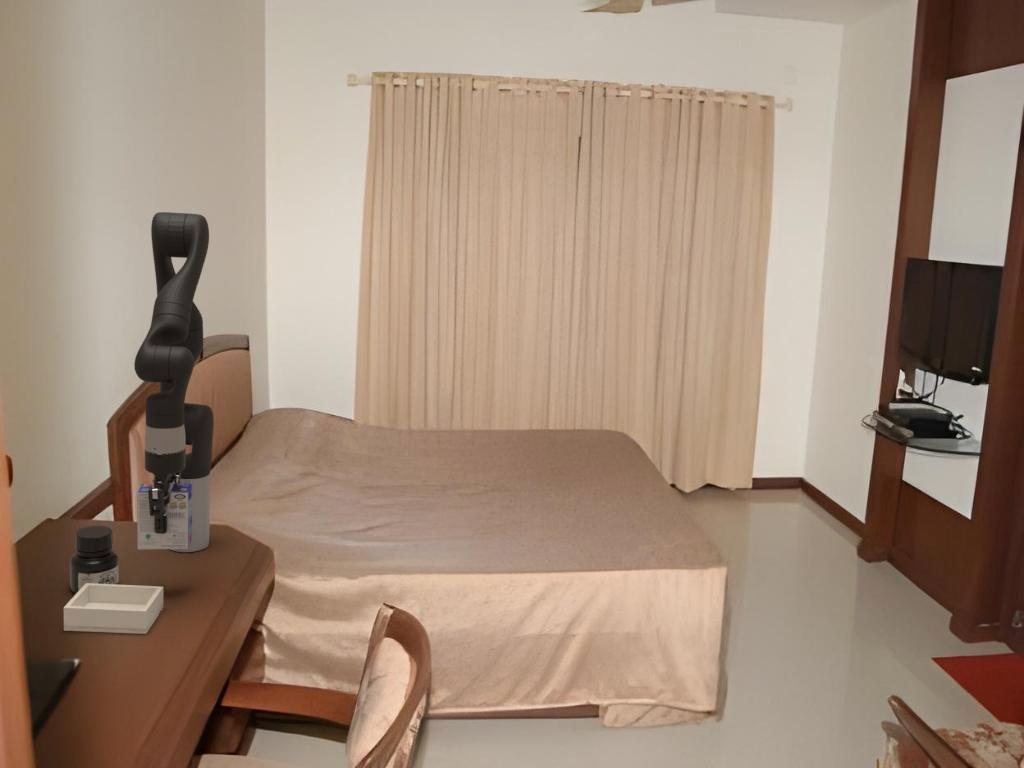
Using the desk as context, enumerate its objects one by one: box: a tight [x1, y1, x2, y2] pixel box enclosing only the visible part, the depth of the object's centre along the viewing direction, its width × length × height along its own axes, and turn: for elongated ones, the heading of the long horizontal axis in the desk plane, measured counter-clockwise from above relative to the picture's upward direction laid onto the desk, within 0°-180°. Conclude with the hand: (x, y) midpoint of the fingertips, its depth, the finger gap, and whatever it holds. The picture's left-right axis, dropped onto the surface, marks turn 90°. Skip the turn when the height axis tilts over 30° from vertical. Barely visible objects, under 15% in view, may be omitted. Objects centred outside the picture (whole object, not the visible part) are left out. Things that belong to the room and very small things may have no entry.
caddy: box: [63, 583, 164, 635], centre depth 173 cm, size 11×15×4 cm
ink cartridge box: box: [136, 474, 192, 550], centre depth 182 cm, size 10×6×14 cm, turn 102°
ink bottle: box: [69, 525, 120, 594], centre depth 184 cm, size 10×9×12 cm
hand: (165, 526), depth 183 cm, fingers closed on ink cartridge box, 5 cm apart
